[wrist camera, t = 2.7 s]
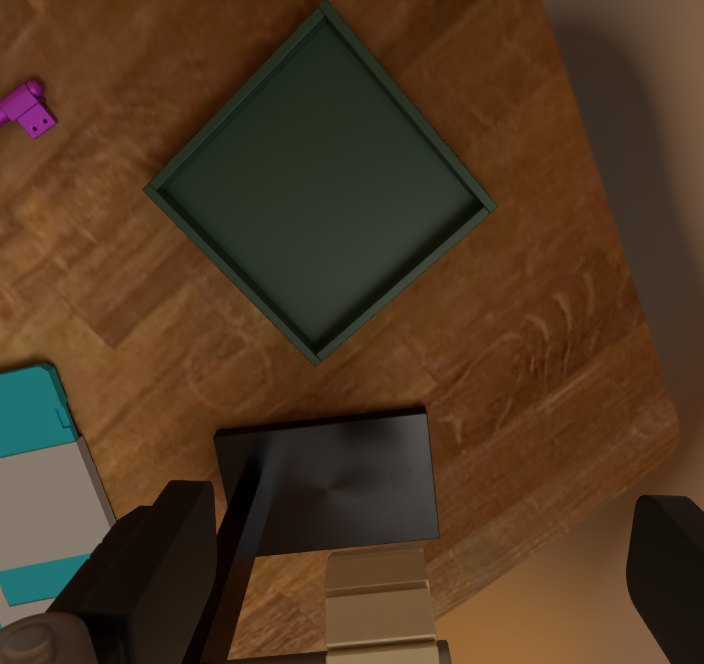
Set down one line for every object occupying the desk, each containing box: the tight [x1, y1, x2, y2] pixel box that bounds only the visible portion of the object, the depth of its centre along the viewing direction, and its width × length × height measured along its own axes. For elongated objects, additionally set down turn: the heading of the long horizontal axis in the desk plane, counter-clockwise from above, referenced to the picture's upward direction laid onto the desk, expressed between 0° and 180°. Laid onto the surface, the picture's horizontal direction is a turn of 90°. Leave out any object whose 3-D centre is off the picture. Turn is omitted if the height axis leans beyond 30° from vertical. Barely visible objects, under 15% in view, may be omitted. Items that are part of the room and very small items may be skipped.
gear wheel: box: [324, 544, 440, 664], centre depth 26 cm, size 4×8×8 cm, turn 8°
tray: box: [143, 0, 498, 367], centre depth 35 cm, size 15×15×2 cm
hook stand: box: [181, 407, 451, 664], centre depth 32 cm, size 15×10×19 cm, turn 97°
